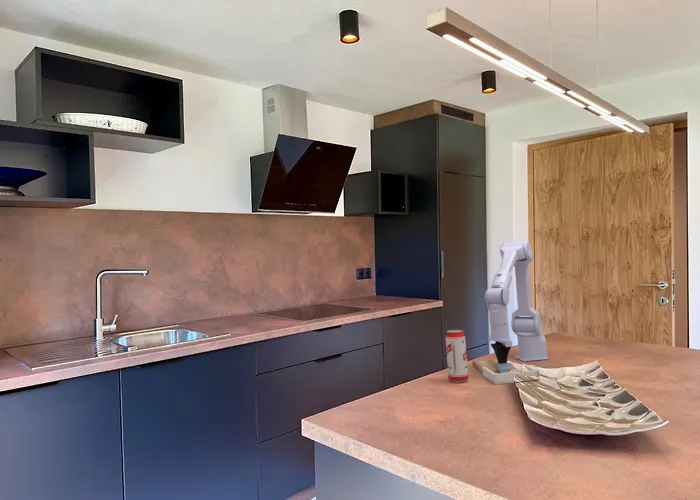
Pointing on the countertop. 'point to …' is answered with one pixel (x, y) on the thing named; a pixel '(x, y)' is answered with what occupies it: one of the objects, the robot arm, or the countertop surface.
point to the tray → (508, 375)
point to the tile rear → (505, 367)
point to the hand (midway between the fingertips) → (502, 365)
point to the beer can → (456, 356)
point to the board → (486, 365)
